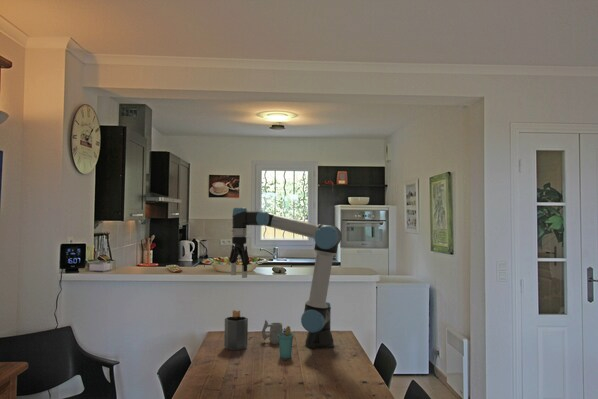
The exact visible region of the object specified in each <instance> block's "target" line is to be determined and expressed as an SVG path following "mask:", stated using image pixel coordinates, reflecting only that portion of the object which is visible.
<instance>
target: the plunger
mask: <svg viewBox="0 0 598 399" xmlns="http://www.w3.org/2000/svg"><path fill="white" fill-rule="evenodd" d="M232 317H233V318H232V320H234V321H238V320H240V317H241V310H239V309H236V310H232Z"/></svg>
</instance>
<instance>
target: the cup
mask: <svg viewBox="0 0 598 399" xmlns="http://www.w3.org/2000/svg"><path fill="white" fill-rule="evenodd" d="M278 337H279V343H278V346H279V357H280V358H281V359H291V358H292V353H293V352H292V350H293V339H294V337H295V336H294V334H293V333H291V327H290V326H289V325H287V326H286V327H284V328H283V331H282V333H281V334H278Z"/></svg>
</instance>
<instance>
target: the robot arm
mask: <svg viewBox="0 0 598 399" xmlns="http://www.w3.org/2000/svg"><path fill="white" fill-rule="evenodd" d="M247 226H259V227H260V226H263V227H264V226H265V227H269V228H273V229H275V230H276V229H277V230H281V231H284V232H288V233H292V234H295V235H300V236H302V237H307V238H309V239H310V238H311V239H314V242H315V243H314V252H315V254H316V255H315V261H314V268H313V271H312V272H313V273H312V280H311V286H310V291H309V299H308V300H307V301H305V303H304V311H303V313H302V315H301V317H300V322H301V326H302V327H303V329H304V330H305V331H307V335H306V339H305V342H304V343H305V347H308V348H311V349H319V350H320V349H329V348H333V347H334V346H335V345H334V338H333V335H332V332H331V310H332V307H331V302H330V301H329V302H328V301H327V296H328V290H329V286H330V278H331V273H332V272H331V271H332V267H333V259H334V256H335V255H337V254H338V248H339V245H340V243H341V241H342V237H343V234H342V232H341V229H340V228H339V227H337V226H335V225H330V224H329V225H328V224H322V223H319V224H315V223H311V222H307V221H303V220H300V219H299V220H298V219H295V218H291V217H287V216H283V215H279V214H276V213H275V214H274V213H272V212H269V211H264V210H259V211H257V210H256V211H254V210H252V211H250V210H249V211H248V209H247V207H234V208H232V230H231V232H232V240H231V241H232V242H231V243H232V245H231V250H230V257H229V259H228V261H229V262H230V276H237V260H238V258H239V257H240V260H241V278H242V279H246V278H247V279H248V265H250V264H251V263H250V262H251V261H250V258H249V253H248V246H247V245H245V244H247V231H248V230H247Z"/></svg>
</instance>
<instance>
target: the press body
mask: <svg viewBox="0 0 598 399" xmlns="http://www.w3.org/2000/svg"><path fill="white" fill-rule="evenodd" d="M232 318H233V316H228V317H225V318H224V338H223V339H224V349H225V350H227V351H243V350H246V349H247V347H248V339H249V338H248V337H249V336H248V333H249V332H248V331H249V328H248V327H249V326H248V323H249V322H248V321H249V319H248V317H246V316H240V320H238V321H234V320H232Z"/></svg>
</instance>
